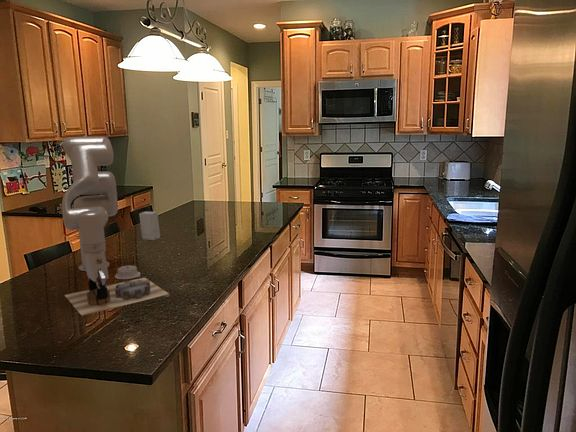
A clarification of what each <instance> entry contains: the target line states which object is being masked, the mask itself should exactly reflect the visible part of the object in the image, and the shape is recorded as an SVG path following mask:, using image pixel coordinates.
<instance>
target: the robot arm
mask: <svg viewBox="0 0 576 432" xmlns="http://www.w3.org/2000/svg"><path fill="white" fill-rule="evenodd" d="M62 148H63V151H64V153H65V155H66V156H67V157H68V159H69V160H70V162H71V168H72V179H73V180H72V181H73V183H72V184H71V185H69V187H68V188H67V189H66V191H65V193H64V194H63V197H62V201H61V207H62V208H61V211H62V221H63V225H64V227H65V228H66V229H67V230H69V231H77V230H78V239H79V246H80V255H81V258H80V259H81V264H80V265H78V270H79V271H81V272H86V275H87V277H88V278H87V280H88V290H89V291H92V290H94V289H97V298H98V300H101V299H106V298H108V294H107V286H108V285H107V280H108V279H109V269H108V268H109V267H110V264H111V263H110V262H109V261H107V258H106V250H107V249H106V238H105V226H106V224H107V223H108V220H109V217H114V216H116V215H117V214H118V210H119V205H118V203H119V201H118V191H117V182H116V177H115V175H114V174H113V172H111V171H104V170H103V171H98V166H111V165H112V164H113V163H114V149H113V146H112V142H111V140H110V139H109V137H106V136H71V137H66V138H64V139H63V140H62ZM80 195H81V196H80ZM73 200H74V201H73ZM72 202H73V208H72V205H71V204H72ZM108 281H109V280H108Z"/></svg>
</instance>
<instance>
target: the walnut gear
mask: <svg viewBox="0 0 576 432" xmlns="http://www.w3.org/2000/svg"><path fill="white" fill-rule="evenodd" d="M107 294H108V298H106V299H101V300H98V298H97V294H95V289H94V290H92V291H89V292H87V301H88V304H89V305H96V306H97V305H102V304H105V303H108V302H109V301H110V292H109V290H108V289H107Z"/></svg>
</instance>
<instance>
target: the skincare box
mask: <svg viewBox="0 0 576 432" xmlns="http://www.w3.org/2000/svg"><path fill="white" fill-rule="evenodd" d="M138 215H139V222H140V229H141V230H140V231H141V232H140V233H141V238H142V239H141V240H145V241H146V240H148V241H149V240H150V241H155V240H159V239H161V232H160V225H159V224H160V223H159V216H158V211H147V210H146V211H142V212H140V213H139V214H138Z"/></svg>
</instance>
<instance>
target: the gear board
mask: <svg viewBox="0 0 576 432" xmlns="http://www.w3.org/2000/svg"><path fill="white" fill-rule="evenodd" d="M107 289H108V290H109V292H110V301H109V302H108V303H105V304H102V305H97V306H96V305H89V304H88V301H87V292H89V289H86V290H81V291H76V292H72V293H68V294H64V297H65V298H66V299H67V301H68V302H69V303H70V304H71V305H72V306H73V307H74V308H75V310H76V311H77V312H78V313H79V315H81V317H82V318H81V319H86V318H87V319H88V318H89V317H93V316H98V315H102V314H105V313H110V312H114V311H117V310H118V311H119V308H120V307H121V308H120V310H121V309H123V306H124V309H125V308H127V305H129V306H128V308H129V307H131V305H132V304H134V305H132V307H134V306H135V304H136V306H137V305H139V303H140V305H142V304H143V301H144V304H147V300H150V301H148V303H150V302H151V300H152V299H153V300H152V302H154V301H155V298H157V299H156V301H158V300H159V297H160V300H162V299H163V297H164V299H165V298H169V297H170V296H171V295H170V293H169V292H167V291H166V290H165V289H163V288H161V287H160V286H158V285H157V284H155V283H154V282H152V281H151V280H149V279H148V278H147V277H140V278H136V279H131V280H127V281H126V280H125V281H122V282H118V283H113V284H108V285H107ZM95 294H97V289H95ZM162 296H163V297H162ZM161 297H162V298H161ZM116 308H117V309H116ZM111 309H112V310H111ZM113 309H114V310H113ZM107 310H109V311H107ZM103 311H106V312H103ZM99 312H100V313H99ZM95 313H97V314H95ZM90 314H95V315H90ZM86 315H90V316H86ZM83 316H86V317H83Z"/></svg>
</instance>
